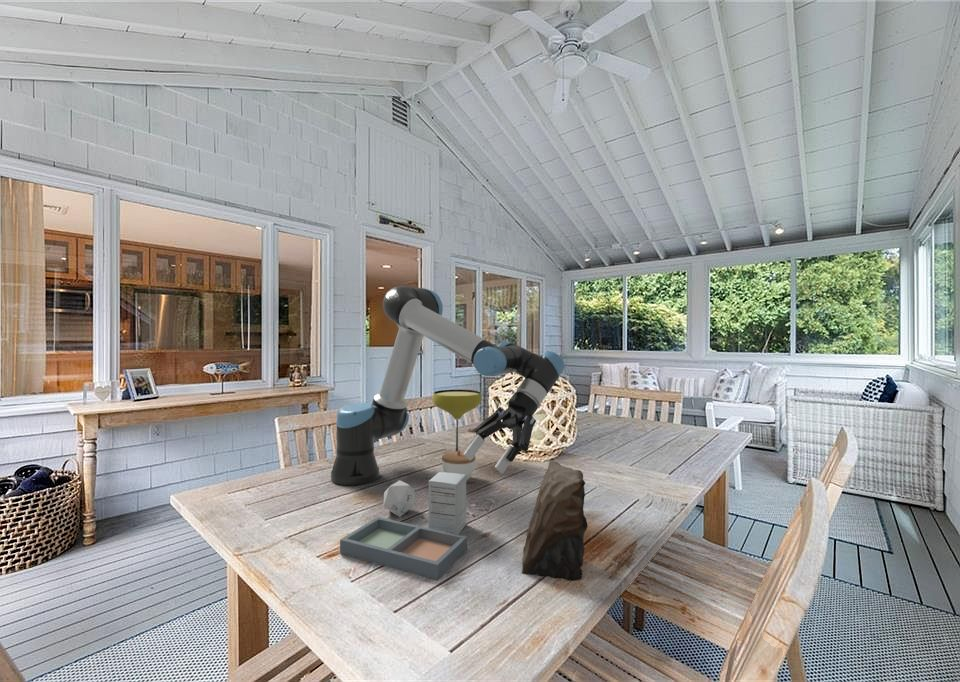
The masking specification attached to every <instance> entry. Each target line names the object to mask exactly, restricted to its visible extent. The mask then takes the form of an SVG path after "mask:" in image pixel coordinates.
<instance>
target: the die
mask: <svg viewBox="0 0 960 682" xmlns="http://www.w3.org/2000/svg"><path fill="white" fill-rule="evenodd" d="M416 504H417V503H416V490H415V489H414V488H413V487H412V486H411V485H410V484H408V483H407V482H404V481H402V480H399V479H398V480H397V481H396V482H394V483H392V484H390V486H389V487H388V488H387V489H386V490H385V491H384V492H383V507H384V508H385V509H387V510H388V511H389V512H391V513H392V514H394V515H395V516H396V517H398V518H401V517H402V516H403V515H405V514H406V513H407V512H409V511H410V510H411V509H412V508H413V507H414V506H415V505H416Z"/></svg>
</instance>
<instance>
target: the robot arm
mask: <svg viewBox="0 0 960 682" xmlns="http://www.w3.org/2000/svg"><path fill="white" fill-rule="evenodd" d="M382 308H383V312H384V314H385V316H386V317H387V318H388V319H389V320H390V321H392V322H393V323H395V324H396V326H397V327H398V331H397V334H396V338H395V341H394V345H393V349H392V351H391V354H390V357H389V361H388V365H387V368H386V371H385V375H384V377H383V378H384V379H383V381H382V384H381V388H380V392H379V393H376V394H374V396H373V399H372V403H370V402H357V403H352V404H347V405H345V406H342V407H341V408H339V410H338V411H337V413H336V421H335V424H336V456H335V459H334V463H333V466H332V469H331V471H330V481H331V482H332V483H334V484H337V485H343V486H358V485H364V484H365V485H366V484H368V483H371V482H373V481H376V480H378V479H379V477H380V467H379V466H378V462H377V459H376V455H375V449H374V448H375V441H377V440H381V439H385V438H389V437H394V436H396V435H397V434H400V433H402V432H403V431H404V430H405V429H406V427H407V426H408V423H409V419H410V417H409V416H410V415H409V414H410V413H408V411H409V410H408V408H407V405H408V403H407V401H406V400H405V397H406V395H407V391H408V388H409V384H410V381H411V378H412V375H413V371H414V368H415V365H416V363H417V358H418V355H419V352H420V349H421V347H422V346H421V345H422V342H423V340H424V338H428V339H429V340H431V341H432V342H434V343H435V344H437V345H439V346H441V347H443V348H445V349H446V350H448V351H449V352H451V353H453V354H455V355H456V356H458V357H460V358H462V359H464V360H465V361H467V362H468V363H471V365H473V366H474V368H475V370H476V371H477V372H478V373H479V374H480V375H482V376H485V377H495V376H498V375H499V376H500V375H503V374H509V373H515V374H517V375H518V376H520V377H522V378H524V379H523V381H522V382H521V383H520V385H519V386H518V387H517V388H516V391H515V392H514V393H513V394H512V396H511V397H510V399H508V401H507V402H508V403H507V404H508V407H507V408H505V409H503V408H502V407H501V406H500V407H497V409H496V410H495V411H494V412H493V413H492V414H491V415H490V416H488V417H487V418H485V419H484V421H482V422H481V423H480V424H478V425H477V426H476V427H475V428H474V429H473V431H474V432H475V434H476V435H475V436H474V438H473V439H472V440H471V442H470V444H469V445H468V447H467V448H466V449H465V451H463V452H464V455H465V456H466V457H467V458H468V459H469V460H472V458H473V457H474V455H475V456H476V454H478V453H477V452H478V451H479V449H480V448H481V447H482V445H483V444H484V443H485V439H487V438H488V437H489V436H492V435H494V433H496V432H498V431H499V430H501V429H511V430H512V443H510V444H511V445H510V444H508V446H507V448H506V449H505V451H504V452H503V453H502V455H501V457H500V458H499V460H498V461H497V463H496V464H495V466H494V468H495V469H496V470H497V471H498V472H499V473H500V474H501V475H503V474H504V473H505V471H506V470H507V469H508V467H509V465H510V463H512V462H513V461H514V460H515V458H516V457H517V456H518V454H519V453H520V452H522V451H523V452H528V451H529V447H530V443H531V438H532V434H533V433H532V432H533V429H534V426H535V424H536V423H537V420H536V418H535V417H534V415H535V413H536V411H538V407H539V406H540V405H541V404H542V403H543V401H544V399H545V398H546V397H547V396H548V394H549V392H550V391H551V390H552V388H553V387H554V386H555V384H556V382H557V381H558V380H559V379H560V377H561V374H562V373H563V371H564V370H565V367H566V363H565V361H564V359H563V358H562V357H561V355H559V354H557V352H555V351H552V350H551V351H549V350H545V351H543V353H541V355H539V354H537V353H534V352H532V351H530V350H528V349H526V348H524V347H522V346H520V345H518V344H516V343H514V342H511V341H508V340H503V341H502V342H501V343H500V342H499V343H498V345H496V344H494V343H492V342H490V341H488V340H487V339H485V338H483V337H482V336H479V335H478V334H476V333H474V332H472V331H470V330H469V329H467V328H465V327H463V326H461V325H459V324H457V323H455V322H454V321H452V320H450V319H448V318H447V317H444V316H443V311H444V306H443V302H442V300H441V297H440V296H439V295H438V293H437V292H435V291H434V290H430V289H428V288H425V287H417V286H408V285H398V286H394V287H392V288H390V289H389V290H388V291H387V292H386V294H385V295H384V297H383V300H382Z"/></svg>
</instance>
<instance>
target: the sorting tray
mask: <svg viewBox="0 0 960 682" xmlns="http://www.w3.org/2000/svg"><path fill="white" fill-rule="evenodd" d="M467 551H468V536H466V535H461V534H453V533H449V532H444V531H440V530H435V529H430V528H429V527H424V526H420V525H416V524H412V523H408V522H404V521H398V520H393V519H390V518H385V517H380V516H377V517H376V518H374V519H372V520H370V521H369V522H367V523H365V524H364V525H362V526H360V527H359V528H356V529H355V530H354V531H352V532H350V533H349V534H347V535H345V536H344V537H342V538H340V540H339V554H340V555H344V556H347V557H351V558H355V559H359V560H363V561H366V562H369V563H373V564H377V565H380V566H384V567H388V568H392V569H395V570H398V571H402V572H406V573H408V574H414V575H417V576H420V577H425V578H428V579H431V580H436V581H438V580H439V579H441V577H443V575H444V574H446V572H448V570H449V569H451V567H453V565H455V563H456V562H457V561H458V560H460V558H461V557H462V556H463V555H465V553H466V552H467Z"/></svg>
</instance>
